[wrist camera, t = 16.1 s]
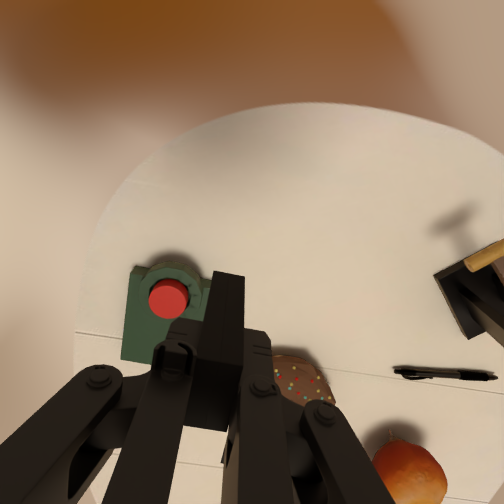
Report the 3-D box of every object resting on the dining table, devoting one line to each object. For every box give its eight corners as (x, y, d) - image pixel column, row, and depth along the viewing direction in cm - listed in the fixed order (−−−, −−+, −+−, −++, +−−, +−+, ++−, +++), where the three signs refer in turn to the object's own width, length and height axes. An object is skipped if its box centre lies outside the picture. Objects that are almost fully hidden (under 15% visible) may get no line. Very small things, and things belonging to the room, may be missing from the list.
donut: (288, 441, 54) (291, 472, 49) (208, 399, 51) (204, 428, 46) (351, 375, 49) (362, 403, 45) (269, 326, 47) (271, 350, 42)
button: (154, 275, 40) (150, 282, 38) (191, 282, 40) (188, 289, 39) (150, 307, 41) (146, 315, 40) (185, 313, 42) (183, 321, 40)
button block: (137, 246, 42) (127, 259, 39) (222, 263, 43) (220, 277, 40) (125, 349, 47) (115, 369, 44) (202, 362, 48) (198, 383, 45)
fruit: (433, 435, 54) (472, 507, 46) (382, 463, 57) (409, 535, 49) (398, 410, 50) (433, 485, 42) (344, 443, 53) (368, 518, 45)
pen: (391, 375, 49) (394, 381, 48) (393, 365, 49) (397, 370, 48) (492, 381, 50) (497, 387, 49) (495, 371, 49) (501, 377, 48)
